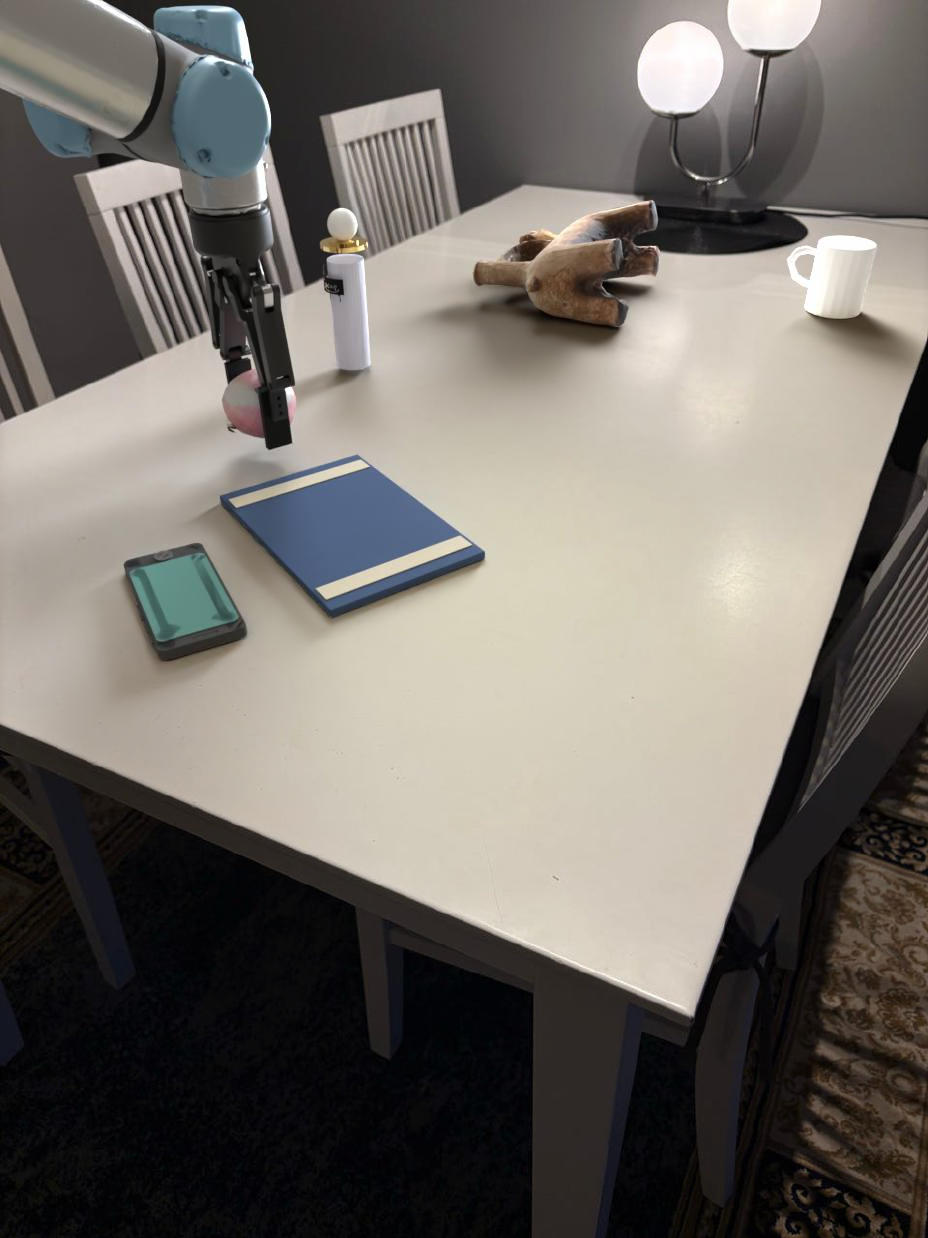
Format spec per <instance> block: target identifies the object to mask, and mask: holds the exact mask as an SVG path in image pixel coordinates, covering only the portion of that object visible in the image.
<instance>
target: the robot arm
mask: <svg viewBox="0 0 928 1238" xmlns="http://www.w3.org/2000/svg"><path fill="white" fill-rule="evenodd" d="M254 70H255V68H254V64H253V62H252V57H251V51H250V45H249V39H248V36H247V31H246V26H245V22H244V19H243V17H242V16H241V14H240V13H239V12H238V11H237V10H236V9H235V8H232V7H229V6H224V5H223V6H222V5H183V6H182V5H181V6H179V5H178V6H170V7H161V8H158V9H157V10H155V12H154V14H153V29H152V28H150V27H149V26H147V25H145V24H143V23H142V22H140V21H139V20H137V19H135V18H133V16H130V15H128V14H127V13H125V12H123V11H122V10H120V9H118V8H117V7H114V6H113V5H111V4H109V3H108V2H106V1H104V0H0V89H1V90H3V91H6V92H8V93H10V94H13V95H15V96H17V97H19V98H21V100H22V104H23V107H24V111H25V114H26V117H27V120H28V122H29V124H30V126H31V128H32V130H33V132H34V134H35V136H36V138H37V139H38V140H39V142H40V143H41V144H42V146H43V147H44V148H45V149H46V151H48V152H49V153H51V154H53V155H54V156H56V157H58V158H62V159H65V158H66V159H67V158H68V159H69V158H79V157H85V158H86V159H90V158H93V156H97V155H101V154H116V155H119V156H120V155H121V156H124V157H128V158H131V159H137V160H140V161H143V162H148V163H152V164H153V163H154V164H159V165H163V166H167V167H171V168H175V169H178V171H179V177H180V182H181V187H182V193H183V198H184V199H183V200H184V203H185V204H186V205H188V206H190V207H191V209H189V212H188V214H187V217H188V223H189V228H190V234H191V241H192V247H193V248H194V250H195V252H196V253H198V254H199V255H201V256H200V258H199V260H200V261H199V262H200V265H201V269H202V272H203V274H202V275H203V278H204V283H205V292H206V301H207V308H208V317H209V326H210V334H211V345H212V347H213V348H214V349H215V350H219V356H220V358H221V359H222V361H225V362H224V363H223V366H224V371H225V376H226V382H227V385H228V384H229V383H230V382H231V381H232V380H233V379H234V378H236V377H237V376H239V375H240V374H242V373H244V372H247V371H249V370H253V368H252V367H253V366H252V361H253V363H254V369H256V371H257V374H258V378H259V381H260V385H261V387H257V388H254V389H255V392H256V393H257V394H258V398H259V405H260V411H261V418H262V424H263V431H264V438H263V439H264V444H265V448H266V449H267V450H268V451H272V450H274V449H275V450H276V449H278V448H282V447H284V446H288V445H289V446H290V445H292V444H293V437H292V430H291V425H290V421H289V413H288V405H287V398H286V390H285V388H288V387H292V388H293V387H295V386H296V380H295V373H294V369H293V363H292V358H291V353H290V349H289V343H288V337H287V332H286V326H285V322H284V316H283V311H282V298H281V297H282V296H281V294H282V293H281V287H280V285H279V283H278V282H273V283H268V280H267V278H266V277H267V276H266V274H265V271H264V270H263V266H262V262H261V260H260V258H261V256H262V255H263V254H264V253H265V252H268V251H269V250H271V249H272V247H273V245H274V233H273V225H272V217H271V211H270V208H269V207H268V206H267V205H266V204H264V202H265V201H266V200H267V199H268V192H267V191H268V189H267V183H266V175H265V173H266V172H267V171H268V163H267V162H266V161H265V160H264V159H263V158H264V155H265V154H266V152H267V149H268V146H269V145H268V144H269V142H270V141H269V140H270V136H271V130H272V118H271V111H270V105H269V102H268V99H267V97H266V96H267V95H266V94H265V91H264V90H263V88H262V86H261V84H260V83H259V82H258V80H257V79H256V78H255V76H254ZM247 343H248V344H247ZM250 355H251V358H252V361H251V359H250V358H249V357H248V356H250ZM245 356H247V357H245Z"/></svg>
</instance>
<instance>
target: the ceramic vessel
mask: <svg viewBox="0 0 928 1238" xmlns="http://www.w3.org/2000/svg"><path fill="white" fill-rule="evenodd" d="M657 212H658V211H657V206H656V203H655V201H654V200H652V199H650V200H647V201H642V202H638V203H635V204H634V203H633V204H629V205H625V206H622V207H618V208H617V207H616V208H613V209H612V208H611V209H608V210H603V211H598V212H594V213H589V214H587V215H585V216H582V217H580V218H577V220H575V221H574V222H572V223H571V224H570V225H568V226H567V227H565V228H563V230H562V231H561V232H560V233H559V234H555V233H552V232H551V231H550V230H548V229H545V228H543V229H538V230H537V231H535V230H533V231H529V232H528V233H526V234H523V235H521V236H520V237H519V239H518V243H517V244H515V245H514V246H511V247H510V248H508V249H507V250H505V251H504V252H503V253H502V254H501V256H500V257H499V258H498V259H497V260H478V261H476V263H475V264H474V266H473V269H472V279H473V282H474V284H475V285H476V287H481V286H499V287H500V286H501V287H507V288H523V289H525V290H526V291H527V294H528V298H529V300H530V301H531V303H532V304H533V305H534V307H535V308H536V309H538V310H540V311H542V312H543V313H545V314H547V315H549V316H551V317H552V316H553V317H556V318H564V319H570V320H576V321H579V322H583V323H586V324H593V325H600V326H612V327H617V328H619V327H622V326H623V324H625V321H626V319H627V317H628V312H629V308H630V307H629V304H628V301H626V300H625V299H624V298H623V299H621V298H618V297H616V296H614V295H613V294H611V293H609V292H607V290H606V289H605V288H604V286H602V285H603V282H604V281H608V280H612V279H613V280H614V279H621V278H635V277H641V276H651V277H656V276H657V274H658V272H659V268H660V261H661V251H660V249H659V247H658V246H657V245H654V246H653V245H647V246H646V245H645V246H643V245H642V246H641V245H640V246H639V245H636V244H635V243H634V242H633V241H634V238H637V236H639V235H641V234H642V233H643V234H644V233H648V232H651V231H656V229H657V226H658V221H659V217H658V213H657Z"/></svg>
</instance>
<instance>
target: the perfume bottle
mask: <svg viewBox="0 0 928 1238" xmlns="http://www.w3.org/2000/svg"><path fill="white" fill-rule="evenodd" d="M327 217H328V218H327V221H326V227H327V230H328V233H329V234H330V237H326V238H323V239H321V240H320V242H319V247H320V250H322V251H323V252H327V253H332V254H333V255H330V256H328V257H327V258H326V268H327V275H326V273H325V266H324V265H322V267H321V268H322V279H323V280H322V281H323V289H324V292H326V293H328V294H329V300H330V302H329V303H330V312H331V313H330V314H331V322H332V323H331V324H332V333H333V334H332V336H333V345H334V355H335V366H336V368H338V369H341V370H344V371H360V370H363V369H366V368H369V366H370V365H371V362H372V361H371V348H370V334H369V318H368V304H367V302H368V301H367V289H366V275H365V274H366V273H365V258H364V256H362V255H359V254H356V253H358V252H362V251H365V250H367V248H368V246H369V243H368V240H367V239H366V238H365V237H362V236H361V237H360V236H356V233H357V232H358V231H357V230H358V220H357V217H356V215H355V214H354V212H353V211H351V210H350V209H348V208H346V207H345V208H344V207H338V208H335V209H334V210H332V211H331V212H330V213H329V215H328V216H327Z"/></svg>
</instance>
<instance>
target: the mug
mask: <svg viewBox="0 0 928 1238" xmlns="http://www.w3.org/2000/svg"><path fill="white" fill-rule="evenodd" d="M877 251H878V244H877V243H875V242H874V241H873V240H870V239H867V238H863V237H859V236H853V235H852V236H850V235H830V236H825V237H823V238H821V239H819V240H818V244H817V248H813V247H811V246H808V245H805V246H801V247H797V248H795V250H793V252H792V253H791V254H790V256H788V258H787V259H786V263H787V266H788V270H789V273H790V274H789V275H790V277H791V279H792V280H793V281H795V282H796V283H797V284H799V285H800V286H801V287H805V288H808V289H807V294H806V298H805V302H804V309H805V311H807V312H808V313H810V314H812V315H814V316H816V317H817V316H818V317H820V318H826V319H835V320H844V319H853V318H856V317H858V316H859V315H860V314H861V313H862V308H863V305H864V301H865V297H866V293H867V289H868V286H869V282H870V277H871V274H872V270H873V266H874V262H875V259H876V258H875V257H876V254H877ZM807 254H808V255H809V254H810V255H812V256H815V257H814V261H813V267H812V270H811V274H810V280H809V279H806V278H805V277H803V276H801V275H800V274H798V270H797V267H796V263H795V262H796V261H797V259H798V258H799V257H800V256H802V255H807Z"/></svg>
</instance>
